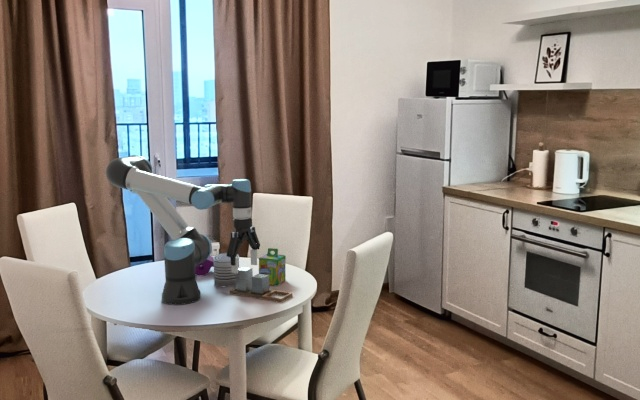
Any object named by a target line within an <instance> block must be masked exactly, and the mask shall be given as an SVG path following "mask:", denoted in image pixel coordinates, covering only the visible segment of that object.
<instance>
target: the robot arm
mask: <svg viewBox="0 0 640 400" xmlns="http://www.w3.org/2000/svg"><path fill="white" fill-rule="evenodd" d="M105 176H106V179H107V180H108V182H109V183H110V184H111V185H112V186H114V187H117V188H120V189H125V190H128V191H130V192H131V193H132V194H136V195H138V196H139V198H140V199H141V201H142V202H143V203H144V205H145V206H146V207H147V208H148V209H149V211H150V212H151V213H152V215H153V216H154V217H155V219H156V220H157V221H158V222H159V223H160V225H161V226H162V228H163V229H164V230H165V232H166V233H167V234H168V236H170V238H171V240H169V241H167V242H166V243H165V244H164V246H163V247H164V249H163V250H164V251H163V255H164V256H163V257H164V258H163V259H164V274H165V275H164V276H165V283H164V285H163V289H162V290H163V291H162V292H161V301H162V303H164V304H167V305H168V304H169V305H174V306H175V305H178V306H179V305H187V304H191V303H195V302H198V301H199V300H200V299H201V298H202V295H201V290H200V288H199V284H198V282H197V278H196V274H195V266H197V265H199V264H200V263H203V262H204V261H205V260H206V259H207V258H208V257H209V256H211V254H212V252H213V251H212V249H213V244H212V241H211V240H210V239H209V237H208V236H207V235H205V234H202V233H199V231H198V230H197V229H196V228H195V227H193V226H190V225H189V224H188V222H186V220H185V219H184V218H183V217H182V215H181V214H180V213H179V211H178V210H177V209H176V208H175V206H174V205H173V204H172V202H171V201H170V200H174V201H178V202H182V203H186V204H189V205H192V206H193V207H194V208H195V209H197V210H207V209H210V208H211V207H213V206H215V205H216V206H217V205H219V204H232V217H233V219H232V221H233V223H232V224H233V228H235V232H234V231H231V232H230V240H229V242H228V246H227V252H226V253H227V257H230V258H231V271H232V273H238V257H236V255H237V254H238V253H239V251H240V248H241V245H242V244H243V242H244V241H246V242H247V244H248V245H249V247H250V249H249V250H250V265H251V266H258V250H260V247H261V243H260V241H259V237H258V235H257V231H256V227H255V226H253V218H252V217H253V215H252V214H253V212H252V211H253V210H252V185H251V181H250V180H249V179H246V178H240V179H239V178H237V179H232V180H231V184H222V183H221V184H219V183H218V184H215V183H212V184H210V183H209V184H205V185H204V186H203V187H202V186H198V185H195V184H193V183H192V184H191V183H189V182H184V181H180V180H177V179H173V178H169V177H165V176H162V175H158V174H155V173H153V166H152V164H151V162H150V160H149V159H147V158H146V157H144V156H141V155H135V154H134V155H129V156H124V157H117V158H114V159H112V160H111V161H110V162H109V163H108V164H107V166H106V169H105ZM169 199H170V200H169Z"/></svg>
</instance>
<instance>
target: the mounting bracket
mask: <svg viewBox="0 0 640 400" xmlns="http://www.w3.org/2000/svg"><path fill="white" fill-rule="evenodd" d="M213 257H214V256H211V255H210V256H209V257H208V258H207V259H206V260H205V261H204V262H203V263H200V264H199V265H197V266H195V276H197V277H203V276H207V275H208V274H209V273H210V271H211V268H214V260H213Z"/></svg>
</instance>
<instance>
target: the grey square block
mask: <svg viewBox="0 0 640 400" xmlns="http://www.w3.org/2000/svg"><path fill="white" fill-rule="evenodd" d="M252 276H254V275H253V267H248V266H241V267H240V266H239V268H238V273H235V277H236V285H235V288H236V291H238V292H244V293H248V292H250V291H252Z"/></svg>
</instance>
